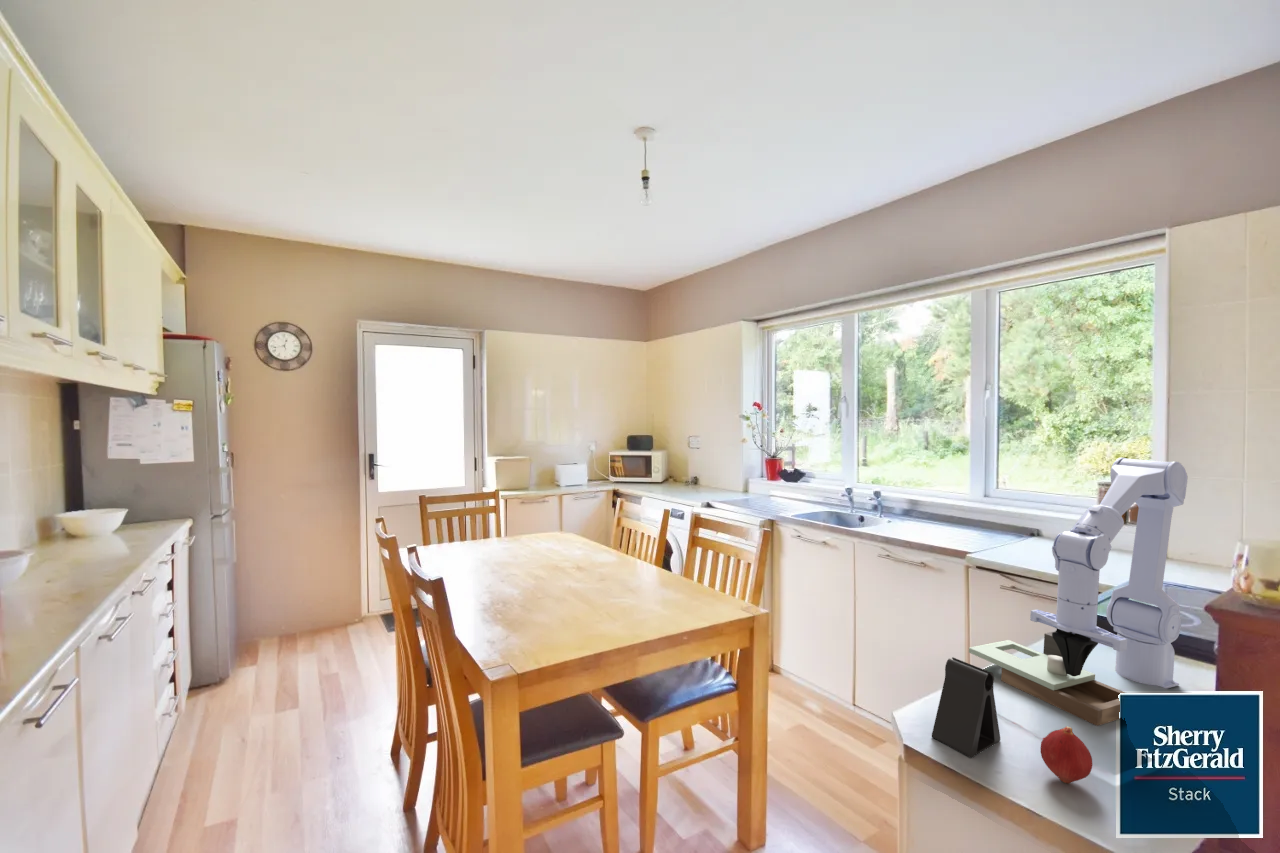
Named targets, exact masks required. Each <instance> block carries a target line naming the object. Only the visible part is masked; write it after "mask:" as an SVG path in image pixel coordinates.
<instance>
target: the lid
mask: <svg viewBox="0 0 1280 853" xmlns="http://www.w3.org/2000/svg"><path fill="white" fill-rule="evenodd" d="M1008 650H1015V651H1017V652H1020V653H1022V654H1024V655H1027V656H1029V657H1027V658H1021V657H1019V656H1016V655H1014V654H1011V653H1009V652H1007V651H1008ZM968 653H969V654H972V655H974V656H976V657H977V658H978V657H979V659H980V658H981V659H983V660H985V661H987V662H989V663H991V664H993V665H996V666H998V667H1000V668H1001V669H1002V668H1005V669H1007V670H1009V671H1011V672H1014V673H1016V674H1018V675H1020V676H1022V677H1025V678H1027V679H1029V680H1031V681H1034V682H1036V683H1038V684H1040V685H1043V686H1045V687H1047V688H1049V689H1051V690H1057V689H1061V688H1065V687H1069V686H1072V685H1076V684H1080V683H1084V682H1088V681H1092V680H1096V674H1095V673H1093V672H1091V671H1088V670H1086V669H1083V668H1082V671H1081V674H1080V675H1078V676H1071V675H1069V674H1066V671H1065V666H1064V662H1063V658H1062V657H1060V656H1056V655H1045V654H1043V653H1042V652H1040V651H1038V650H1035V649H1033V648H1031V647H1028V646H1025V645H1022V644H1020V643H1017V642H1015V641H1013V640H1010V639H1006V640H1002V641H1000V640H999V641H996V642H995V641H994V642H990V643H986V644H981V645H980V644H979V645H975V646H970V647H968Z"/></svg>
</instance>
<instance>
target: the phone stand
mask: <svg viewBox="0 0 1280 853" xmlns="http://www.w3.org/2000/svg"><path fill="white" fill-rule="evenodd" d="M944 670H945V671H944V681H943V686H942V689H941V693H940V699H939V701H938V702H939V703H938V707H937V711H936V714H935V720H934V725H933V727H932V728H933V729H932V732H931V738H933V739H934V738H935V740H936V739H937V740H936V741H938V742H940V743H942V744H944V745H946V746H948V747H949V748H951V749H953V750H955V751H957V752H959V753H960V754H962V755H964V756H967V757H968V758H970V759H973V758H974V757H976V756H977V755H979V754H981V753H983V752H984V751H986V750H987V748H988V749H989V748H991V747H993V746H995V745H996V744H998V743H999V742H1001V735H1000V734H1001V733H1000V727H999V720H998V714H997V706H996V699H995V694H994V685H995V684H994V683H995V676H994V673H993V672H991V671H988V670H986V669H984V668H981V667H978V666H975V665H973V664H970V663H968V662H965V661H963V660H960V659H958V658H956V657H954V656H953V657H951V658H948V659H947V661H946V662H945V666H944ZM994 744H995V745H994ZM992 745H993V746H992ZM982 751H983V752H982ZM980 752H981V753H980Z"/></svg>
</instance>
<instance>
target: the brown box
mask: <svg viewBox="0 0 1280 853" xmlns="http://www.w3.org/2000/svg"><path fill="white" fill-rule="evenodd" d="M1000 681H1001V682H1003V683H1004V684H1007V685H1009V686H1010V687H1013V688H1015V689H1017V690H1019V691H1022V692H1024V693H1026V694H1028V695H1031V696H1033V697H1034V698H1036V699H1039V700H1041V701H1043V702H1045V703H1048V704H1050V705H1051V706H1054V707H1056V708H1058V709H1060V710H1062V711H1065V712H1066V713H1067V714H1068V713H1069V714H1070V715H1072V716H1074V717H1076V718H1079V719H1081V720H1083V721H1085V722H1088V723H1089V724H1091V725H1094V726H1096V727H1098V726H1102V725H1105V724H1108V723H1112V722H1114V721H1115V722H1116V721H1117V720H1120V719H1119V712H1120V701H1119V698H1118V695H1119V694H1120V693H1126V692H1125V691H1124V690H1123V691H1122V690H1121V689H1118V688H1115V687H1112V686H1111V685H1107V684H1105V683H1102V682H1100V681H1098V680H1096V679H1095V680H1092V681H1088V682H1084V683H1080V684H1076V685H1072V686H1069V687H1065V688H1061V689H1057V690H1051V689H1049V688H1047V687H1045V686H1043V685H1040V684H1038V683H1036V682H1034V681H1031V680H1029V679H1027V678H1025V677H1022V676H1020V675H1018V674H1016V673H1014V672H1011V671H1009V670H1007V669H1005V668H1002V667H1001V679H1000Z"/></svg>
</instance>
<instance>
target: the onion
mask: <svg viewBox="0 0 1280 853" xmlns="http://www.w3.org/2000/svg"><path fill="white" fill-rule="evenodd" d="M1040 755H1041V758H1042V761H1043V762H1044V763H1045V765H1046V767H1047V768H1048V769H1049V770H1050V771H1051V773H1053V775H1055V776H1056V777H1057V778H1058V779H1059V780H1060V781H1061V782H1062V783H1064V784H1071V783H1074V782H1077V781H1080V780H1083V779H1085V778H1087V777H1088V776H1089V775H1090V774H1091V772H1092V769H1093V758H1092V757H1093V756H1092V754H1091V752H1090V750H1089V748H1088V747H1087V746H1086V744H1085V743H1084V741H1082V740H1081V738H1079V737H1078V736H1077V735H1076V734H1074V733H1073V728H1072V727H1070V726H1065V727H1064V728H1061V729H1057V730H1056V729H1055V730H1053V731H1050V732H1049V733H1048V734H1047V735H1046V736H1045V737H1044V738H1042V740H1041V742H1040Z"/></svg>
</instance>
